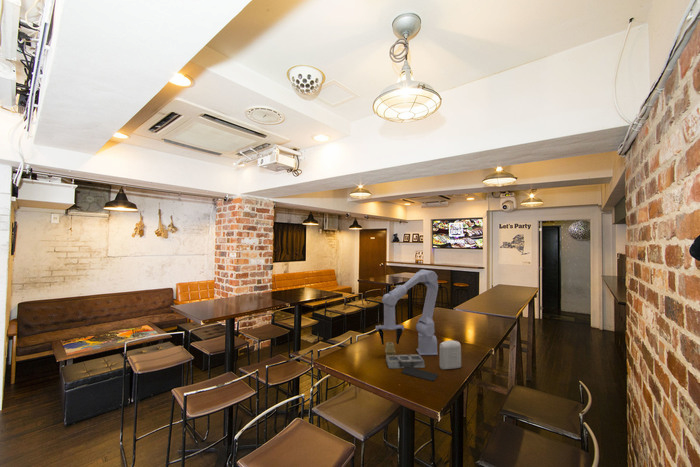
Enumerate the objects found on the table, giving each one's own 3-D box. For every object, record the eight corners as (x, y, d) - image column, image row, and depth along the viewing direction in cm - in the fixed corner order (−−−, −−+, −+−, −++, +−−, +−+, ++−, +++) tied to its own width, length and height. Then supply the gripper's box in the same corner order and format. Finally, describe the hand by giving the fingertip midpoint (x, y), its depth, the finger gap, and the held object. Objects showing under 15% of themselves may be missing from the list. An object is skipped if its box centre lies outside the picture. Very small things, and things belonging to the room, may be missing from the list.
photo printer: (457, 364, 135) (456, 338, 136) (462, 368, 131) (462, 341, 132) (438, 366, 133) (437, 340, 133) (443, 370, 129) (442, 343, 129)
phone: (433, 381, 118) (400, 372, 127) (433, 383, 118) (400, 374, 127) (438, 374, 125) (406, 366, 133) (438, 376, 125) (406, 367, 133)
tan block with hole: (394, 355, 147) (393, 341, 147) (395, 359, 142) (395, 345, 142) (384, 355, 147) (384, 341, 147) (386, 359, 142) (385, 345, 142)
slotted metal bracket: (419, 360, 140) (419, 354, 140) (424, 367, 132) (424, 361, 132) (385, 361, 139) (385, 355, 140) (388, 368, 131) (388, 362, 132)
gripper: (376, 319, 141) (377, 347, 141) (405, 319, 142) (405, 346, 141) (374, 316, 148) (375, 342, 148) (402, 315, 149) (402, 341, 148)
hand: (390, 343), depth 145 cm, fingers open, 7 cm apart
